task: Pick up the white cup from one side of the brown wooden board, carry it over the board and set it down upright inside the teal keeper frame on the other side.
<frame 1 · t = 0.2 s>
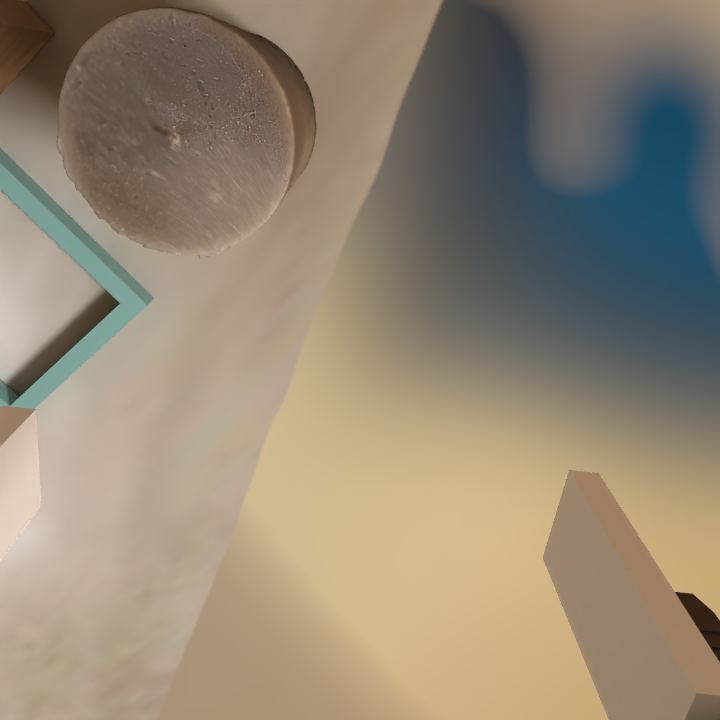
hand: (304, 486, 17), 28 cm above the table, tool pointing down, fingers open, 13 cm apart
pillar candle: (233, 121, 40), on the table
keeper frame: (5, 288, 43), on the table
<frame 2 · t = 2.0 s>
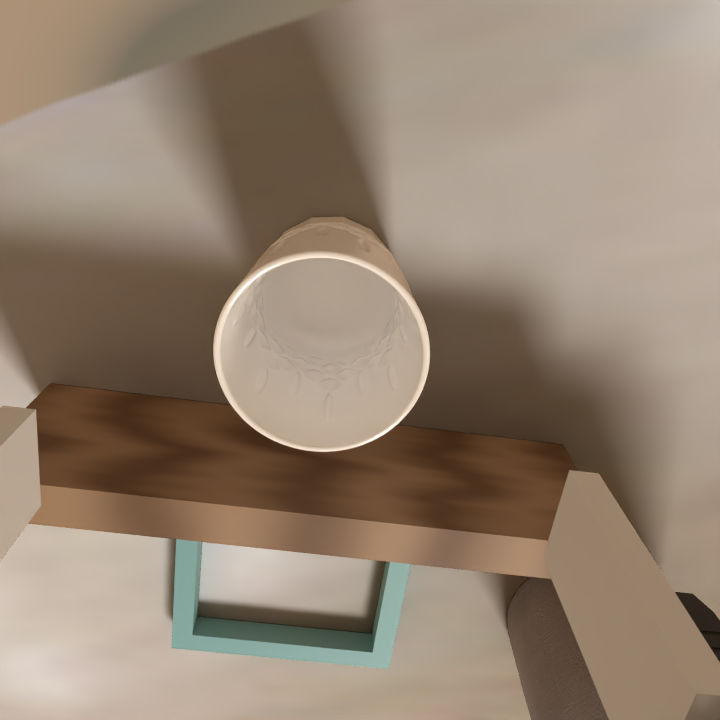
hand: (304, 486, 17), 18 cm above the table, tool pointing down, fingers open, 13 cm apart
white cup: (330, 281, 34), on the table
pillar candle: (578, 612, 42), on the table
keeper frame: (294, 555, 40), on the table
brown wooden board: (310, 430, 37), on the table
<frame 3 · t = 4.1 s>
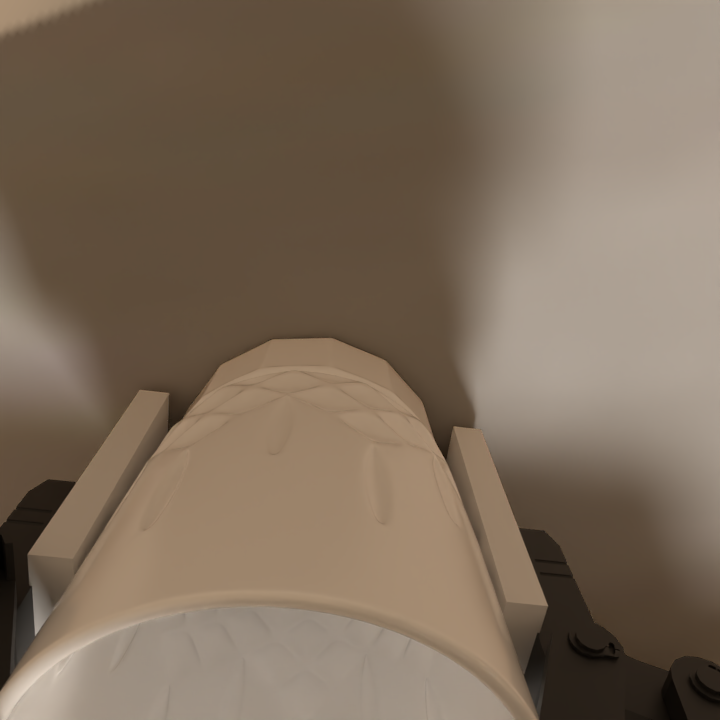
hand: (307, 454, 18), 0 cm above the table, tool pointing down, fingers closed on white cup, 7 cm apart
white cup: (309, 444, 18), on the table, touching gripper
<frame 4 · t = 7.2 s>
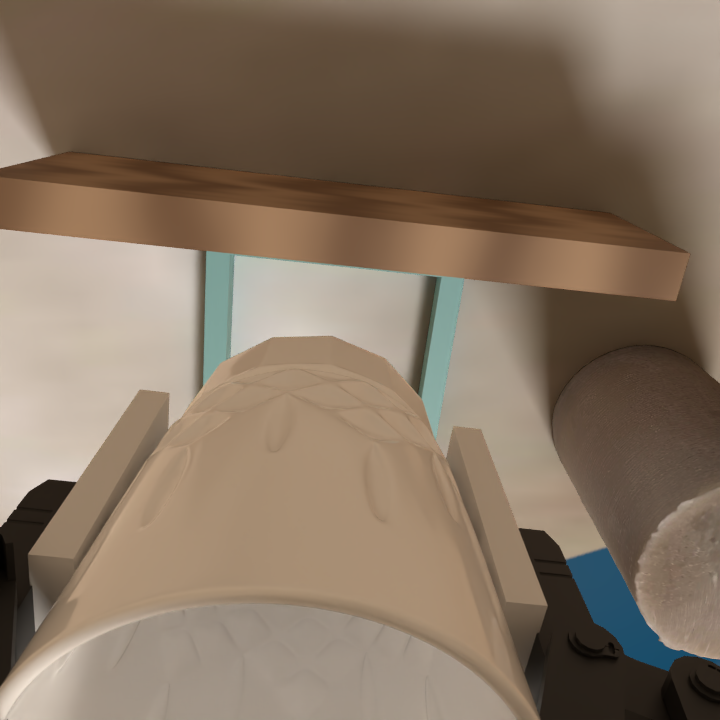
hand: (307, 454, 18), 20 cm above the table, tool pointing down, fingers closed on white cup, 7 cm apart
white cup: (309, 443, 18), point 19 cm above the table, touching gripper
pillar candle: (627, 417, 40), on the table
keeper frame: (327, 353, 38), on the table
brown wooden board: (343, 202, 35), on the table
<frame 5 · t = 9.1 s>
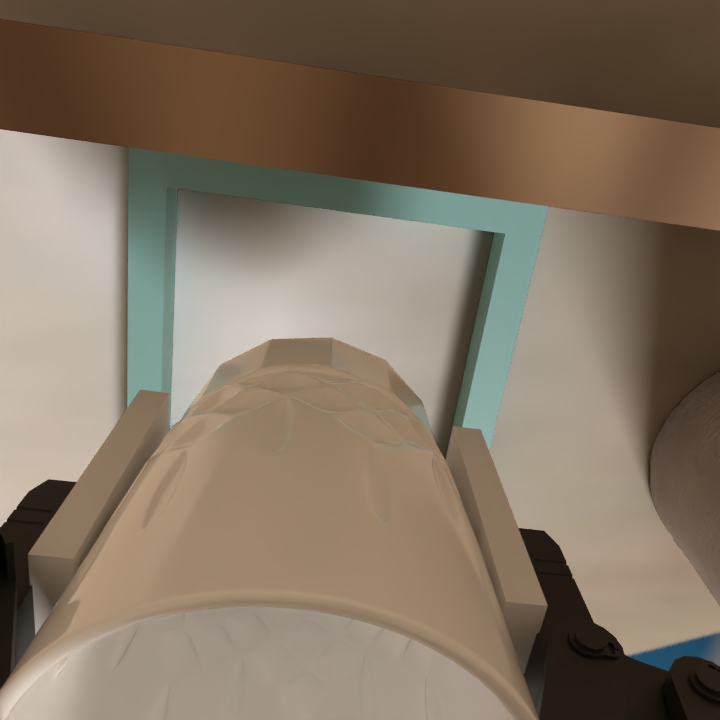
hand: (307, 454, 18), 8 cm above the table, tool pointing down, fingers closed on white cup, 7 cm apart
white cup: (309, 444, 18), point 7 cm above the table, touching gripper
keeper frame: (321, 350, 25), on the table
brown wooden board: (352, 110, 22), on the table
when the fingers open (3 cm above the table, at t = 10.5 s): white cup drops 2 cm, resting in keeper frame.
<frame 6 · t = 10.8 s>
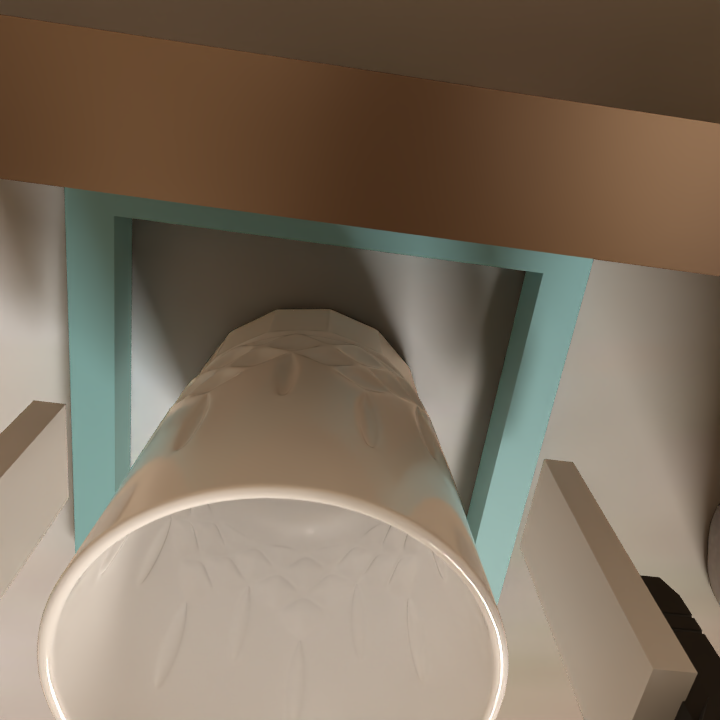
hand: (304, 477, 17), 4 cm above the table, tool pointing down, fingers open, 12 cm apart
white cup: (307, 406, 21), resting in keeper frame
keeper frame: (312, 410, 20), on the table
brown wooden board: (350, 117, 17), on the table
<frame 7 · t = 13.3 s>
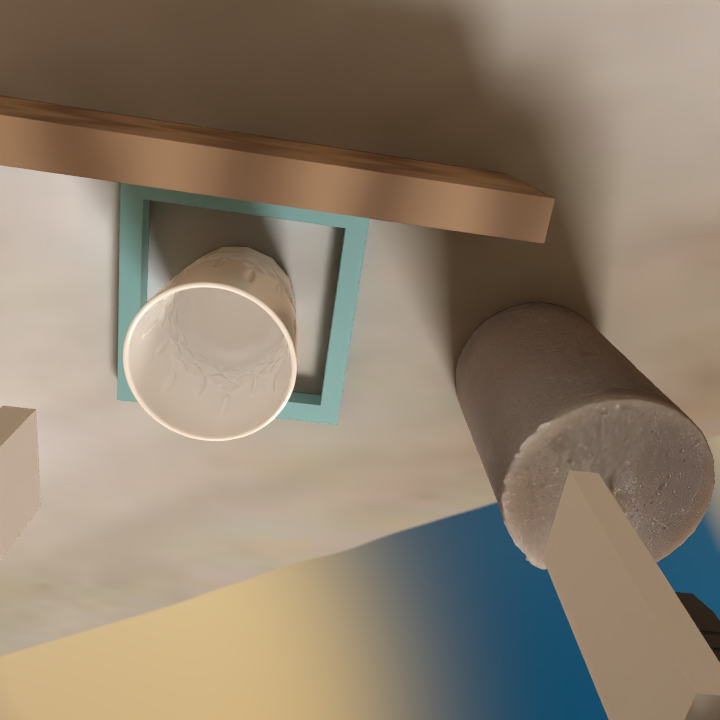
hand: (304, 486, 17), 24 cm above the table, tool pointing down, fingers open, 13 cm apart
white cup: (239, 299, 40), resting in keeper frame
pillar candle: (525, 372, 42), on the table
keeper frame: (241, 301, 40), on the table
brown wooden board: (254, 154, 36), on the table
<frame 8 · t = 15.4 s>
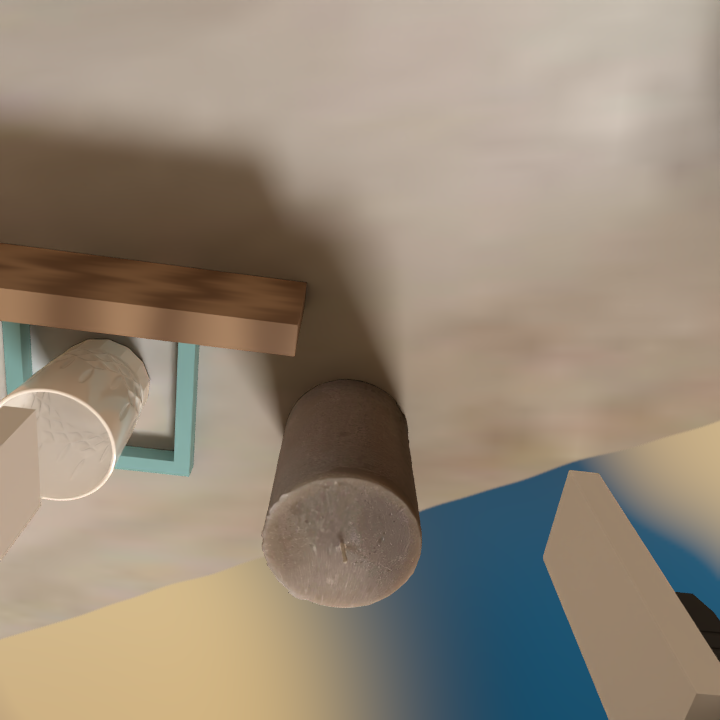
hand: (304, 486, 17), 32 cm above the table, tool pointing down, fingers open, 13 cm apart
white cup: (106, 378, 50), resting in keeper frame
pillar candle: (344, 433, 52), on the table
keeper frame: (107, 380, 50), on the table
brown wooden board: (106, 270, 47), on the table
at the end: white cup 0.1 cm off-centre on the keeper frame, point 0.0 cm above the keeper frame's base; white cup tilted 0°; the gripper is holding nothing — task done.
